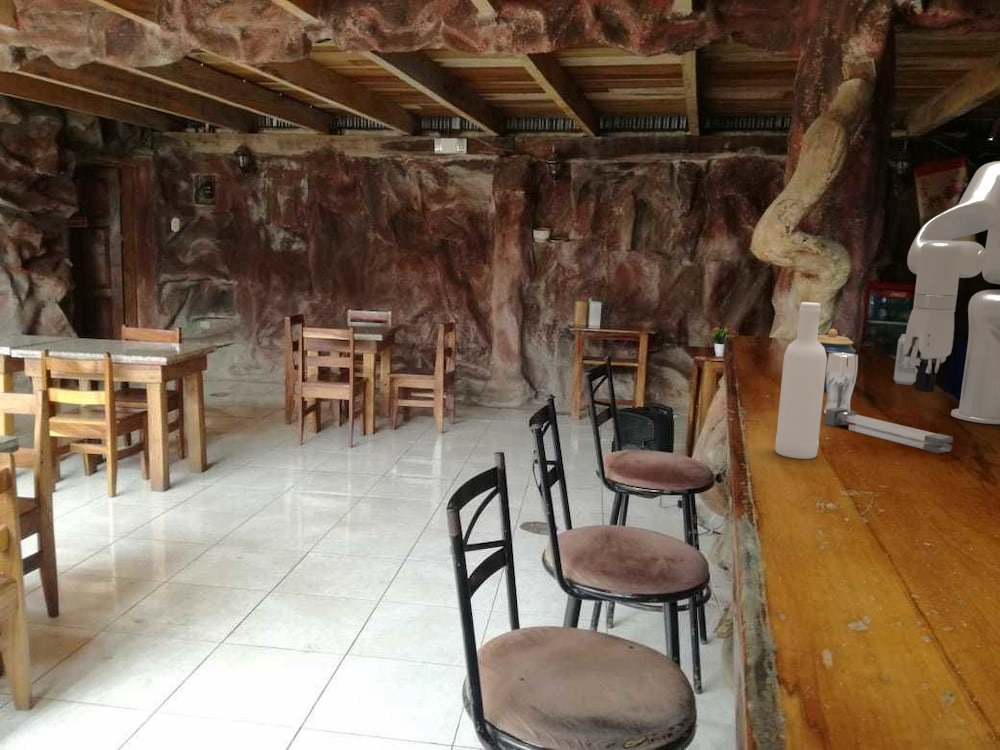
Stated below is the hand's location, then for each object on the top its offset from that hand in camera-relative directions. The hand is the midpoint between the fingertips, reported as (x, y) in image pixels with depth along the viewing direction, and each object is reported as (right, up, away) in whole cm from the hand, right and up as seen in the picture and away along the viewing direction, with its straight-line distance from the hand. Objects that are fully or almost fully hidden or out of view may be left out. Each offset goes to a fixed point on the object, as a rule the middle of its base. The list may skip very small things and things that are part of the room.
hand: (924, 390), depth 160 cm
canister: (+7, -1, +63) cm, 64 cm away
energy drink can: (+36, +1, +76) cm, 84 cm away
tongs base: (-4, -10, +8) cm, 14 cm away
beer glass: (-5, -7, +30) cm, 31 cm away
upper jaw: (-4, -9, +7) cm, 12 cm away
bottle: (-30, -13, -8) cm, 33 cm away
